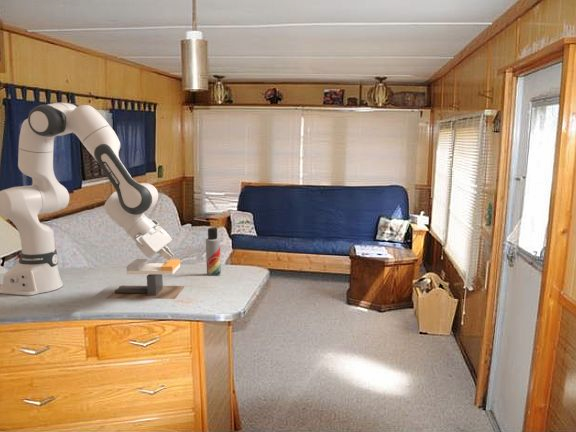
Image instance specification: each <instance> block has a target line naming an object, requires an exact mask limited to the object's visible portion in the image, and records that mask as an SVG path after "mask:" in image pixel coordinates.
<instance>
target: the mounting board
mask: <svg viewBox="0 0 576 432" xmlns="http://www.w3.org/2000/svg"><path fill="white" fill-rule="evenodd" d="M121 286H127V284H126V285H124V284H123V285H121ZM185 287H186V285H163V289H162V290H161V291H160V292H159V293H158V294H157V295H156V296H148V294H121V293H115V290H114V291H113V292H112V293H111V294H110V295H108V296H106V299H144V300H146V299H148V300H149V299H151V300H152V299H154V300H155V299H156V300H157V299H160V300H163V299H165V300H166V299H167V300H168V299H169V300H175V299H177V297H178V296H179V295H180V294H181V292H182V291H183V290H184V289H185ZM117 289H119V287H118V288H117Z"/></svg>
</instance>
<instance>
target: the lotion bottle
mask: <svg viewBox="0 0 576 432" xmlns="http://www.w3.org/2000/svg"><path fill="white" fill-rule="evenodd" d="M220 239H221V238H219V237H218V228H217V227H215V226H212V227H209V228H207V238H206V239H205V253H206V254H205V259H206V276H207V277H220V276H222V272H221V271H222V267H221V265H222V264H221V259H222V258H221V240H220Z"/></svg>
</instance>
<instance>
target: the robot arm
mask: <svg viewBox="0 0 576 432" xmlns="http://www.w3.org/2000/svg"><path fill="white" fill-rule="evenodd" d="M68 134H74V135H75V136H76V137H77V138H78V139H79V141H80V142H81V144H82V145H83V147H84V148H86V150H87V152H89V154H90V155H91V156H92V158H93V159H95V161H96V162H97V164H98V165H99V166H100V169H102V171H103V173H104V174H105V176H106V177H107V178H108V180H109V181H110V183H111V184H112V186H113V187H114V189H115V191H114V192H111V193H110V195H109V196H108V197H107V199H106V200H105V202H104V205H103V209H104V211H105V213H106V214H107V216H108V217H109V218H110V219H111V220H112V221H113V222H114V224H116V225H117V226H118V227H120V228H122V230H124V231H125V233H126V235H127V236H129V237H130V238H131V239H132V240H133V241H134V242H135V245H136V247H137V248H138V249H139V250H140V252H141V253H142V254H143V255H145V257H147V259H148V258H149V259H152V258H153V257H155V256H156V255H157V254H159V255H160V256H161V257H163V258H165V259H166V261H168V260H170V259H173V257H174V256H175V254H174V253H173V252H171V249H170V248H169V247H168V245H169V244H170V243H171V242H172V241H173V239H172V237H171V236H170V234H169V233H168V232H167V231H166V230H165V229H164V228H163V227H162V226H160V223H159V221H157V220H156V219H151V218H148V216H146V215H145V213H146V212H147V211H148V210H152V209H153V208H154V207H155V206H156V205H157V203H158V201H159V197H160V196H159V194H160V193H159V191H158V189H157V188H156V187H155V186H154V185H153V184H151V183H148V182H140V183H139V182H138V181H136V180H135V179H134V178H132V176H131V174H130V173H129V171H128V170H127V168H126V166H125V165H124V164H123V162H122V161H121V159H120V156H119V155H120V154H119V152H120V149H121V141H120V139H119V137H118V135H117V133H116V132H115V130H114V129H113V128H112V126H111V125H110V124H109V123H108V121H107V120H106V119H105V118H104V116H103V115H102V114H100V112H98V110H97V109H95V108H94V107H93V106H92V105H89V104H83V105H82V104H77V103H74V102H52V103H48V104H40V105H38V106H35V107H33V108H32V109H31V110H30V111H29V113H28V117H27V118H26V119H24V120H23V122H22V124H21V129H20V132H19V138H18V153H17V157H18V158H17V159H18V161H17V167H18V169H19V171H20V172H21V173H22V174H23V175H24V176H26V177H27V176H28V177H30V178H31V180H32V184H31V185H22V186H21V185H20V186H13V187H9V188H6V189H2V190H0V215H2V217H4V218H7V220H9V221H11V222H12V223H13V225H14V226H15V227H16V229H17V231H18V234H19V239H20V244H21V252H19V254H17V255H15V260H17V259H18V261H17V263H16V264H15V265H14V266H12V267H11V268H10V269H9V270H8V271H6V272H5V274H4V275H3V278H2V284H1V285H0V294H5V295H17V296H33V295H34V296H35V295H37V294H42V293H48V292H52V291H56V290H57V289H60V288H61V287H63V286H64V282H63V281H62V278H61V276H60V271H59V266H58V252H57V251H58V250H57V248H56V245H55V244H56V242H55V234H54V233H55V232H54V230H53V229H52V228H51V226H49V225H47V224H44V223H41V222H40V220H39V215H46V214H51V213H56V212H58V211H61V210H63V209H66V208H67V206H68V205H69V203H70V194H69V191H68V189H67V188H66V187H65V186H64V185H63V184H61V183H60V182H59V181H58V179H57V177H56V175H55V171H54V146H55V144H54V142H55V139H56V137H61V136H65V135H68Z"/></svg>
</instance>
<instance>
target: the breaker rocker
mask: <svg viewBox="0 0 576 432" xmlns="http://www.w3.org/2000/svg"><path fill="white" fill-rule="evenodd" d="M179 268H181V259H180V258H171V259H170V260H166V261H165V262H163V263H161V262H159V263H157V262H156V263H155V262H151V263H150V262H149V261H148V258H135V259H134V260H133V261H131V263H129V264H128V265H126V274H127V275H149V274H162V275H174V274H175V273H176V272H177V271H178V270H179Z"/></svg>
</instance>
